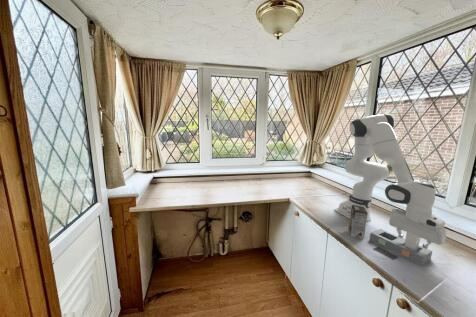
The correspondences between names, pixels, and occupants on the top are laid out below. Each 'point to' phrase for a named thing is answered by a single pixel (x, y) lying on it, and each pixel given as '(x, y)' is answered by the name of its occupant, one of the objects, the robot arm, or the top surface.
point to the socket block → (400, 247)
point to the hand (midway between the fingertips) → (412, 242)
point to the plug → (412, 241)
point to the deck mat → (385, 253)
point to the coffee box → (357, 222)
